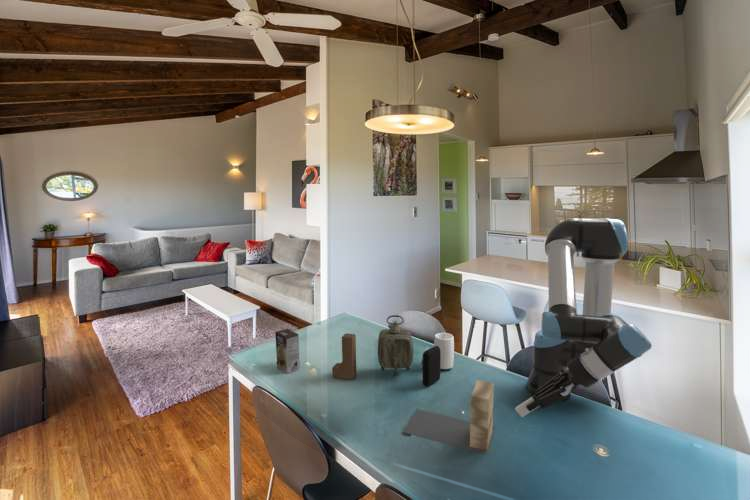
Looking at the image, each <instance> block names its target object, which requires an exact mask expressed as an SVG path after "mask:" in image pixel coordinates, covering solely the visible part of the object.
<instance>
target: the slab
mask: <svg viewBox="0 0 750 500" xmlns="http://www.w3.org/2000/svg"><path fill="white" fill-rule="evenodd" d="M474 385H475V386H474V388H473V390H472V393H471V396H470V420H469V421H470V447H474V448H478V449H482V450H485V451H487V450H488V446H489V442H490V438H491V434H492V427H494V426H493V422H494V397H495V396H494V395H495V394H494V393H495V392H494V391H495V383H494V382H489V381H483V380H476V382H475V384H474Z"/></svg>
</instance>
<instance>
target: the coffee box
mask: <svg viewBox="0 0 750 500" xmlns="http://www.w3.org/2000/svg"><path fill="white" fill-rule="evenodd" d="M274 332H275V334H274V335H275V347H276V351H275V352H276V367H277V368H278V369H279V370H281V371H282V372H284V373H285V374H287V375H289V374H292V373H294V372H297V371H300V370H301V369H300V368H301V367H300V366H301V365H300V340H299V338H300V337H299V336H300V335H299V333H298V332H295V331H293V330H291V329H290V328H286V329H281V330H277V331H274Z"/></svg>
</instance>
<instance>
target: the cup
mask: <svg viewBox="0 0 750 500" xmlns="http://www.w3.org/2000/svg"><path fill="white" fill-rule="evenodd" d="M454 337H455V336H453V334H451V333H448V332H439V333H436V334H434V341H433V343H434V344H433V347H434V346H438V347H439V348H440V352H441V360H440V370H449V369H452V368H454V361H455V360H454V359H455V358H454V357H455V339H454Z"/></svg>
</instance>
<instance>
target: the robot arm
mask: <svg viewBox="0 0 750 500" xmlns="http://www.w3.org/2000/svg"><path fill="white" fill-rule="evenodd" d="M628 246H629V244H628V232H627V228H626V225H625V223H624V222H623V221H622V220H621V219H616V218H576V217H575V218H568V219H565V220H563V221H561V222H560V223H558V224H555V226H553V228H552V229H551V230H550V232H549V233H548V234H547V237H546V239H545V243H544V252H545V255H546V256H547V258H548V259H547V260H548V261H547V266H548V267H547V271H548V273H547V275H548V276H547V277H548V284H547V285H548V287H547V288H548V311H543V312H542V313H541V329H540V330H538V331H537V332H535V335H534V341H533V347H534V348H533V361H532V369H531V371H530V374H529V376H528V379H527V382H526V389H527V390H528V392H529V393H531V395H532V396H531V397H529V398H527V400H525V401H523V402H521V403H519V404H518V405H517V406H516V407H515V412H516V413H517V414H518V415H519V416H520V418H524V417H525V416H527V415H528V414H530V413H531V412H533V411H535V410H537V409H538V408H541V410H544V409H545V408H548V407H550V406H552V405H553V404H556V403H558V402H561V401H565V400H569V399H570V398H571V397H572V392H573V391H575V390H576V388H578V387H579V386H582V387H583V388H587V389H588V388H590V387H592V386H593V385H595V384H597V383H598V382H599V380H600V381H601V380H603V379H605V378H608V377H609V376H610V375H612V374H613V373H615V372H616V371H618V370H619V369H621V368H623V367H624V366H626V365H628V364H630V363H631V362H633V361H634V360H636V359H638V358H641V357H642V356H643V355H644V354H645V353H647V352H649V351H650V349H652V347H653V346H652V343H651V341H650V340H649V338H647V336H646V335H645V334H644V333H643V332H642V331H641V330H640V329H639V328H638V326H636V325H634V324H633V323H627V322H626V321H625V320H624V318H622V317H621V316H619V315H618V314H616V313H612V312H611V311H612V301H613V299H612V297H613V288H614V287H613V286H614V275H615V274H614V273H615V264H616V263H618V262H619V261H620V260H621V255H623V254H626V253H627V251H628ZM576 252H577V253H580V252H581V255H580V256H581V258H582V260H584V262H585V268H584V270H585V272H584V282H583V283H584V287H583V288H584V289H583V299H582V300H583V301H582V313H581V314H578V313H577V312H578V310H577V297H576V296H577V294H576V280H575V266H574V255H575V254H576Z"/></svg>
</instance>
